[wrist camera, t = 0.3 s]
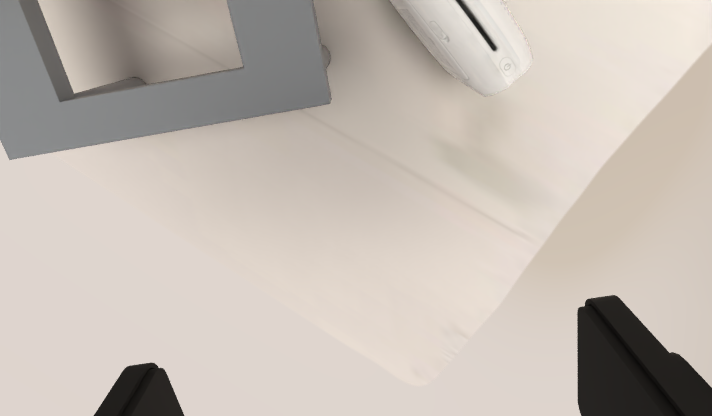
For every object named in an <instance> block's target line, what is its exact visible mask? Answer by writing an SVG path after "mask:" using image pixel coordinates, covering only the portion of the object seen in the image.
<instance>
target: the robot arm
mask: <svg viewBox="0 0 712 416" xmlns="http://www.w3.org/2000/svg"><path fill="white" fill-rule="evenodd" d="M578 405H579V410H580V413H581V416H712V388H711V387H710V386H709V385H708V383H707V382H706V381H705V380H704V379H703V378H702V377H701V376H700V375H699V374H698V373H697V372H696V371H695V370H694V369H693V368H692V366H691V365H690V364H689V363H688V362H687V361H686V360H685V359H684V358H682V357H681V356H680V355H679V354H676V353H673V352H672V353H669V352H668V351H667V350H666V349H665V348H664V347H663V345H662V344H661V343H660V342H659V341H658V340H657V339H656V338H655V337H654V336H653V335H652V333H651V332H650V331H649V330H648V329H647V328H646V327H645V326H644V325H643V324H642V323H641V321H640V320H639V319H638V318H637V317H636V316H635V315H634V314H633V313H632V311H631V310H630V309H629V308H628V307H627V306H626V305H625V304H624V303H623V302H622V301H621V300H620V298H618V297H617V296H615V295H612V296H605V297H598V298H591V299H587V300H586V302H585V306H584V307H580V308H578ZM94 416H184V414H183V412H182V409H181V407H180V405H179V402H178V400H177V397H176V395H175V393H174V390H173V388H172V386H171V383H170V381H169V378H168V376H167V374H166V372H165V370H164V369H163V368H158V366H157V365H156V364H155V363H146V364H139V365H133V366H128V367H126V368H125V369H124V370H123V372H122V373H121V375H120V377H119V378H118V380H117V381H116V382H115V384H114V386H113V387H112V389H111V390H110V392H109V393H108V395H107V396H106V398H105V399H104V401H103V402H102V404H101V406H100V407H99V408H98V410H97V412H96V413H95V415H94Z"/></svg>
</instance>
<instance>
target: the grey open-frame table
mask: <svg viewBox="0 0 712 416" xmlns="http://www.w3.org/2000/svg"><path fill="white" fill-rule="evenodd" d="M227 3H228V7H229V11H230V15H231V19H232V23H233V27H234V31H235V35H236V39H237V43H238V47H239V51H240V55H241V59H242V63H243V67H240V68H235V69H229V70H224V71H219V72H213V73H208V74H202V75H197V76H191V77H186V78H180V79H175V80H169V81H164V82H158V83H153V84H147V85H146V83H145V82H144V81H143V80H141V79H139V78H129V79H126V80H122V81H118V82H115V83H111V84H108V85H104V86H100V87H97V88H93V89H90V90H86V91H83V92H79V93H75V94H74V93H73V90H72V88H71V85H70V82H69V80H68V77H67V75H66V72H65V70H64V67H63V64H62V62H61V59H60V57H59V54H58V52H57V49H56V47H55V44H54V41H53V39H52V36H51V34H50V31H49V29H48V26H47V24H46V21H45V18H44V16H43V13H42V11H41V8H40V6H39V3H38V1H37V0H0V140H1V142H2V145H3V147H4V149H5V151H6V153H7V155H8V158H9V159H10V160H12V159H17V158H23V157H29V156H34V155H40V154H46V153H52V152H57V151H63V150H69V149H75V148H80V147H86V146H92V145H97V144H103V143H109V142H115V141H120V140H126V139H132V138H138V137H143V136H149V135H155V134H160V133H166V132H172V131H178V130H183V129H189V128H195V127H201V126H206V125H212V124H218V123H223V122H229V121H235V120H241V119H246V118H252V117H258V116H263V115H269V114H275V113H281V112H286V111H292V110H298V109H304V108H309V107H315V106H321V105H326V104H330V103H331V100H332V98H331V93H330V88H329V83H328V77H327V72H326V68H327V66H328V64H329V62H330V53H329V51H328V49H327V48H326V47H325V46H323V45H321V41H320V35H319V30H318V25H317V20H316V14H315V9H314V4H313V0H227Z"/></svg>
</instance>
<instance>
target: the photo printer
mask: <svg viewBox="0 0 712 416" xmlns="http://www.w3.org/2000/svg"><path fill="white" fill-rule="evenodd" d="M390 2H391V3H392V5H393V6H394V7H395V8H396V10H397V11H398V12H399V14H400V15H401V16H402V18H403V19H404V20H405V22H406V23H407V24H408V26H409V27H410V28H411V29H412V31H413V32H414V33H415V34H416V36H417V37H418V38H419V39H420V41H421V42H422V43H423V44H424V46H425V47H426V48H427V49H428V51H429V52H430V53H431V54H432V55H433V56H434V58H435V59H436V60H437V61H438V62H439V64H440V65H441V66H442V67H443V68H444V69H445V70H446V71H447V72H448V73H449V74H451V75H452V76H453V77H455V78H456V79H458V80H460V81H461V82H463V83H464V84H466V85H467V86H469V87H470V88H472V89H473V90H475V91H476V92H478V93H479V94H481V95H482V96H491V95H495V94H497V93H499V92H501V91H503V90H505V89H507V88H508V87H509V86H510V85H511V84H512V83H513V82H514V81H515V80H516V79H517V78H519V77H520V76H522V75H523V74H525V72H526V71H527V70H528V69H529V67H530V66H531V64H532V61H533V56H532V52H531V49H530V46H529V44H528V41H527V39H526V37H525V35H524V33H523V32H522V30H521V28H520V27H519V25H518V23H517V22H516V20H515V18H514V17H513V15H512V14H511V12H510V10H509V9H508V7H507V6H506V4H505V3H504V2H503V0H390Z"/></svg>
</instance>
